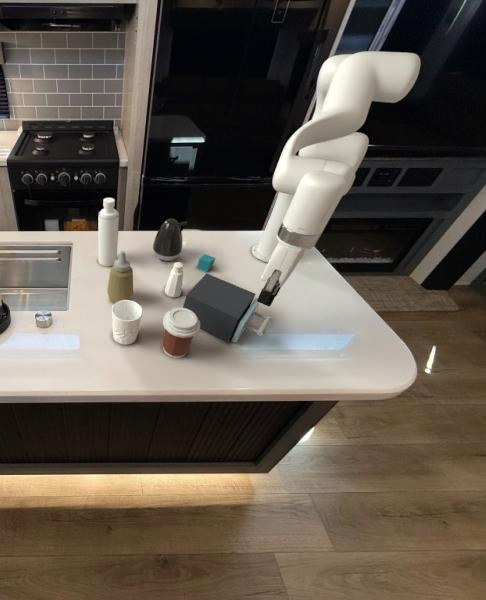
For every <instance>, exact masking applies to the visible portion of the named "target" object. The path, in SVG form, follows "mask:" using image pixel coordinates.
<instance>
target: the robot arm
mask: <svg viewBox="0 0 486 600" xmlns="http://www.w3.org/2000/svg"><path fill="white" fill-rule="evenodd" d="M319 69H320V70H319V73H318V76H317V81H316V103H315V108H314V112H313V115H312V117H311V120H309V121H307V122H306V123H304V124H303V125H302V126H301V127H299V128H298V129H297V130H295V132H294V133H293V134H292V135H291V136H290V137H289V139H287V141H286V143H285V145H284V147H283V149H282V151H281V153H280V157H279V159H278V162H277V164H276V167H275V170H274V172H273V175H272V181H271V184H272V187H273V189H274V190H275V191H276V192H277V193H278V194H277V197H276V200H275V203H274V205H273V208H272V212H271V213H270V215H269V218H268V221H267V223H266V226H265V229H264V231H263V233H262V235H261V238H260V240H259V242H258V243H256V244H254V245H253V246H252V248H251V253H252V255H253V256H254V257H255V258H256V259H258V260H260V261H262V262H264V263H267V264H266V266H265V268H264V270H263V272H262V274H261V277H260V281H263V282H265V284H264V286H263V287H262V288H261V290H260V292H259V295H258V297H257V298H256V299H257V302H259V304H261V305H264V306H266V307H271V306H272V304H273V302H274V300H275V298H276V297H277V296H278V294H279V292H280V290H281V288H282V287H283V286H284V285H285V283H286V282H287V280H288V279H289V278H290V276H291V275H292V274H293V272H294V270H295V269H296V268H297V266H298V264H299V262H300V260H301V259H302V256H303V255H304V253H305V252H306V251H307V250H311V249H314V248H315V247H316V245H317V243H318V241H319V239H320V238H321V235H322V234H323V232H324V231H325V228H326V226H327V225H328V224H329V221H330V219H331V218H332V215H333V214H334V212H335V210H336V208H337V206H338V204H339V203H340V202H341V200H342V198H343V196H345V195H347V194H348V193H349V191H350V189H351V187H352V186H353V184H354V182H355V179H356V172H357V171H358V168H359V167H360V165H361V163H362V162H363V159H364V158H365V155H366V153H367V151H368V149H369V148H368V147H369V143H370V140H369V137H368V135H366V134H365V133H362V132H358V130H359V129H361V128H362V127H363V125H364V124H365V122H366V120H367V117H368V115H369V110H370V108H371V104H372V102H380V103H391V104H394V103H398V102H399V101H401V100H402V99H404V98H405V97H406V96H407V95H408V93H410V91H411V89H413V87H414V85H415V83H416V82H417V79H418V76H419V74H420V70H421V58H420V56H419V55H418V54H417V53H414V52H401V51H377V50H376V51H375V50H373V51H372V50H371V51H370V50H367V51H359V52H356V53H346V54H343V53H342V54H337V55H333V56H331V57H329V58H327V59H326V60H324V62H323V63H322V65H321V67H320V68H319ZM297 152H298V155H297Z"/></svg>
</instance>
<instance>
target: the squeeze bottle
mask: <svg viewBox="0 0 486 600" xmlns="http://www.w3.org/2000/svg"><path fill="white" fill-rule="evenodd" d="M106 293H107V295H108V298H109V300H110V302H111V303H112V304H113V305H114V304H115V303H117V302H119V301H122V300H131V299H132V297H133V295H134V270H133V268H132V266H131V262H130V260H129V259H127V255H126V251H124V250H121V251H120V252H119V256H118V258H117V260H115V261H114V265H113V266H111V267H110V270H109V277H108V283H107V291H106Z"/></svg>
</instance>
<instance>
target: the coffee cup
mask: <svg viewBox="0 0 486 600" xmlns="http://www.w3.org/2000/svg"><path fill="white" fill-rule="evenodd" d="M162 325H163V327H164V332H163V342H162V350H163V352H164V353H165V354H166V355H167V356H169V357H171V358H173V359H174V358H175V359H180V358H183V357H184V356H186V354H187V353H188V350H189V349H190V346H191V343H192V341H193V339H194V337H195V336H196V335H197V334H198V333H199V331H200V330H201V329H200V321H199V320H198V318H197V316H196V314H195V313H193V312H192V311H191V310H189V309H186V308H183V307H175V308H172V309H171V310H169V311H167V312H166V313H165V314H164V315H163V319H162Z"/></svg>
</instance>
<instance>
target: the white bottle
mask: <svg viewBox="0 0 486 600" xmlns="http://www.w3.org/2000/svg"><path fill="white" fill-rule="evenodd" d="M115 203H116V199H115V198H113V197H105V198H103V203H102V205H103V206H102V207H103V208H102V209H101V210H100V211H99V212H98V223H97V224H98V227H97V229H98V230H97V232H98V234H97V235H98V238H97V239H98V240H97V241H98V243H97V246H98V247H97V249H98V250H97V251H98V253H97V256H98V257H97V260H98V263H99V265H101V266H102V267H112V266H114V261H115V260H117V259H118V243H119V241H118V239H119V224H120V223H119V221H120V213H119V211H118V210H117V209H115V206H116V205H115Z"/></svg>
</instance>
